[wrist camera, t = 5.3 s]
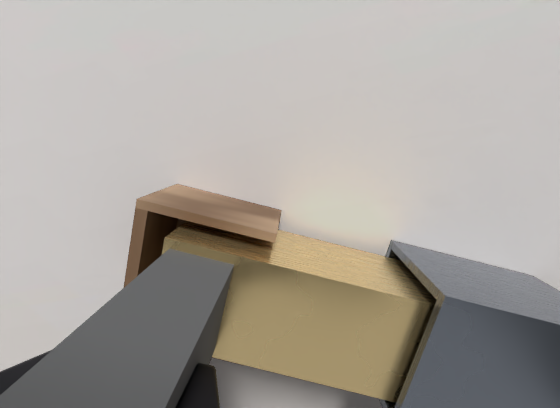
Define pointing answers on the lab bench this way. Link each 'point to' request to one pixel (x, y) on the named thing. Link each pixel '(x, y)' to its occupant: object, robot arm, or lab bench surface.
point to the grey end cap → (482, 336)
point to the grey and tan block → (238, 323)
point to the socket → (195, 208)
